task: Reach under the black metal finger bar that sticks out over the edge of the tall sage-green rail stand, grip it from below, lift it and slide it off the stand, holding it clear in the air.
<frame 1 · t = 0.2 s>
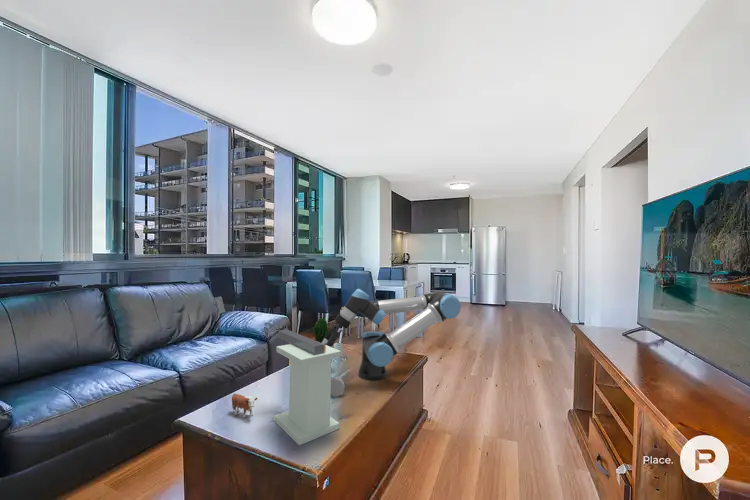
hand: (318, 354, 146), 16 cm above the table, tool tilted 35°, fingers open, 13 cm apart
candlestick: (372, 360, 190), on the table
rail stand: (306, 424, 114), on the table
bull figurine: (243, 415, 120), on the table
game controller: (322, 396, 139), on the table
finger bar: (299, 344, 120), point 28 cm above the table, touching rail stand
potted cactus: (319, 372, 167), on the table
wine glass: (323, 360, 187), on the table
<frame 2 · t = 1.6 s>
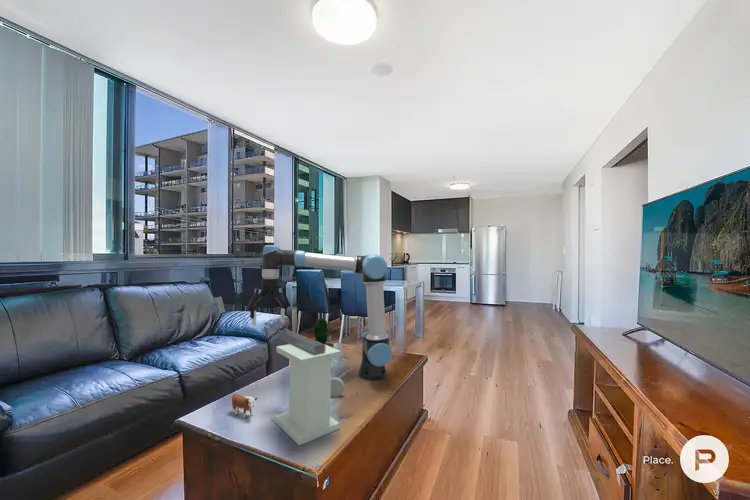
hand: (268, 323, 142), 31 cm above the table, tool pointing down, fingers open, 13 cm apart
nothing on the table moved.
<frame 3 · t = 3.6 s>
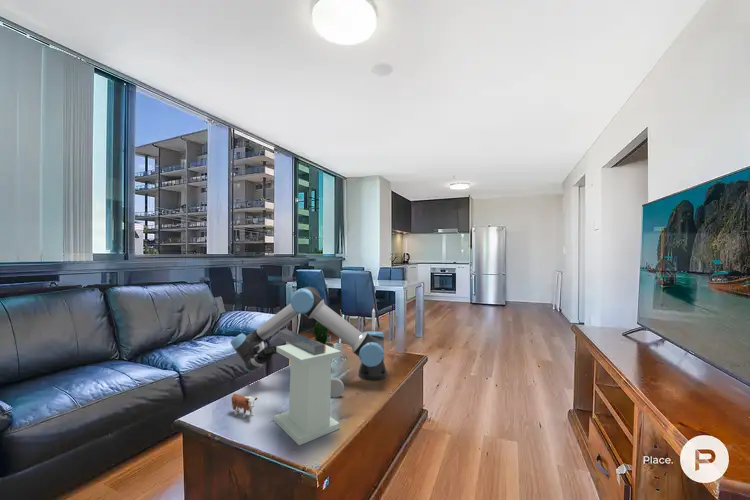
hand: (278, 342, 134), 25 cm above the table, tool pointing upward, fingers open, 13 cm apart
nothing on the table moved.
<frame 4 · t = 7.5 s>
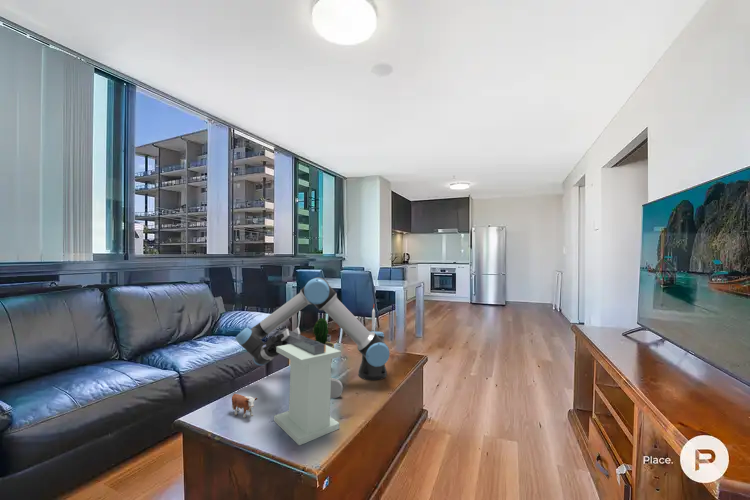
hand: (293, 331, 124), 32 cm above the table, tool pointing upward, fingers closed on finger bar, 4 cm apart
finger bar: (299, 344, 120), point 28 cm above the table, touching gripper, rail stand
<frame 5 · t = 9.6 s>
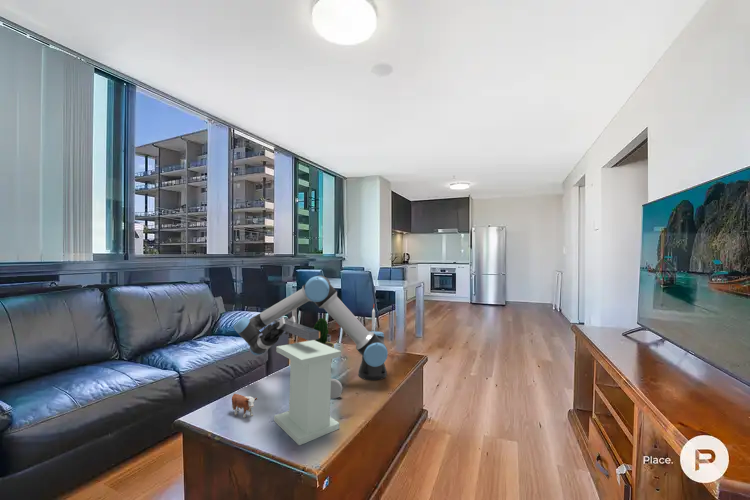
hand: (288, 319, 127), 36 cm above the table, tool pointing upward, fingers closed on finger bar, 4 cm apart
finger bar: (294, 332, 123), point 32 cm above the table, touching gripper
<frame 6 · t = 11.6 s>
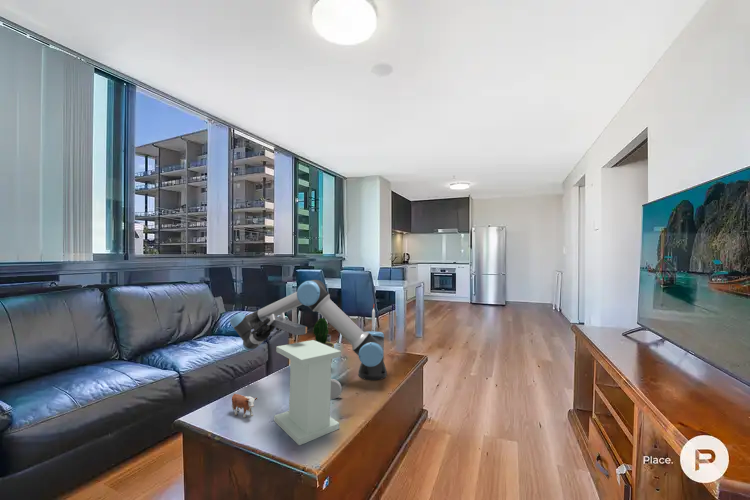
hand: (278, 316, 134), 36 cm above the table, tool pointing upward, fingers closed on finger bar, 4 cm apart
finger bar: (283, 327, 130), point 32 cm above the table, touching gripper
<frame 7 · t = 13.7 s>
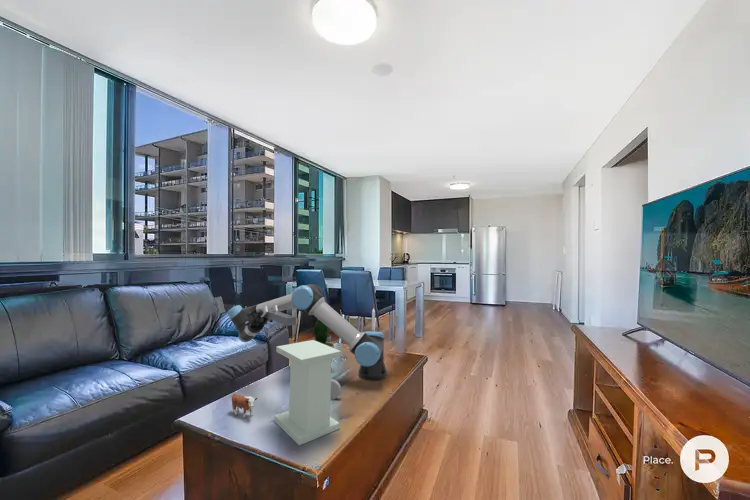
hand: (271, 308, 141), 39 cm above the table, tool pointing upward, fingers closed on finger bar, 4 cm apart
finger bar: (276, 319, 137), point 34 cm above the table, touching gripper
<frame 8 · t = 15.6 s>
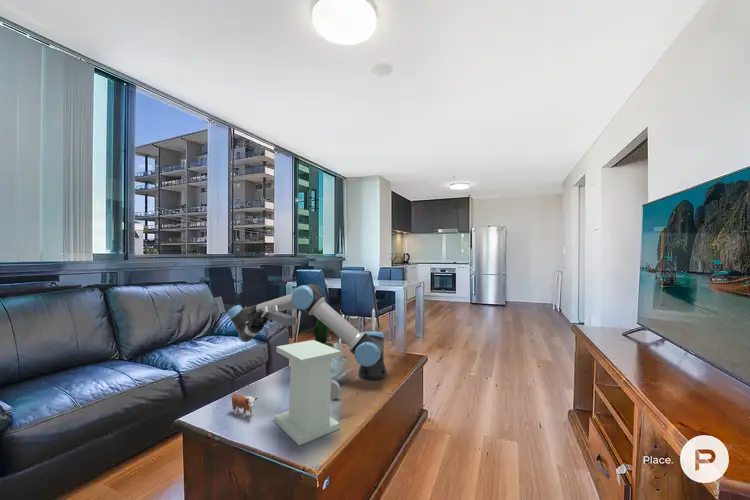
hand: (271, 308, 141), 39 cm above the table, tool pointing upward, fingers closed on finger bar, 4 cm apart
finger bar: (276, 319, 137), point 34 cm above the table, touching gripper
at the end: the gripper is holding finger bar; finger bar moved 22.9 cm from its start; finger bar touching gripper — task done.
